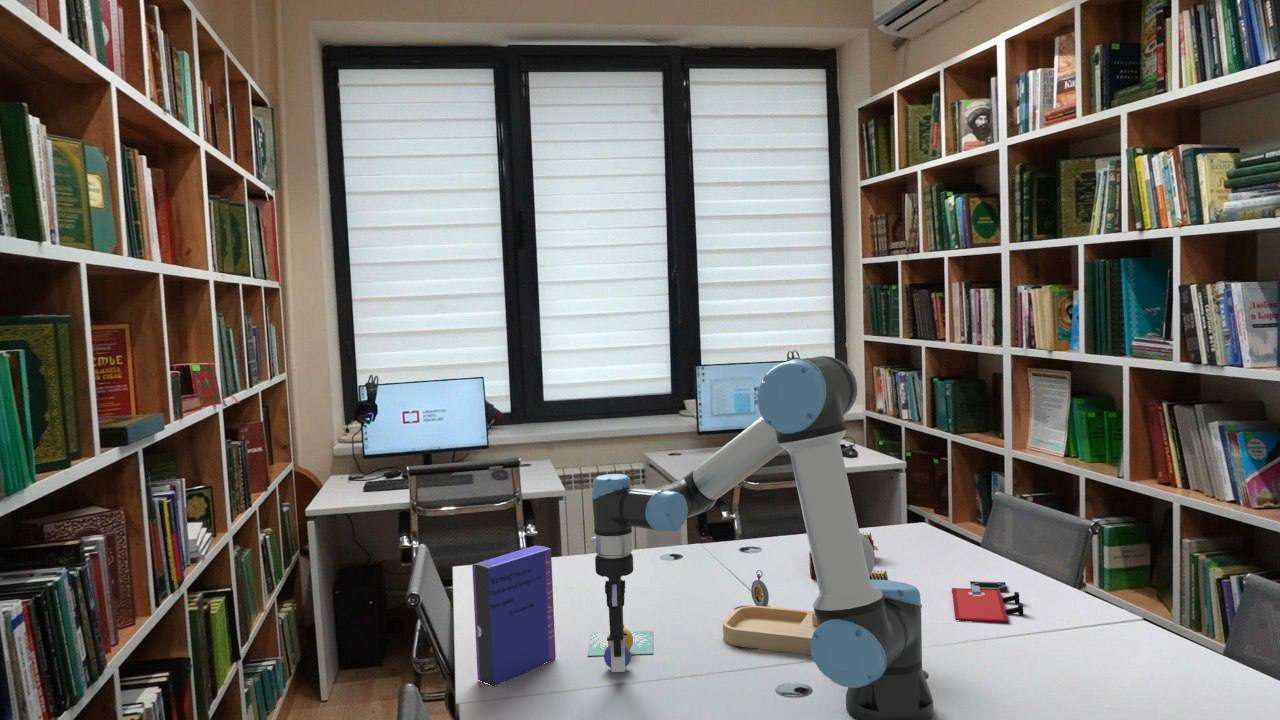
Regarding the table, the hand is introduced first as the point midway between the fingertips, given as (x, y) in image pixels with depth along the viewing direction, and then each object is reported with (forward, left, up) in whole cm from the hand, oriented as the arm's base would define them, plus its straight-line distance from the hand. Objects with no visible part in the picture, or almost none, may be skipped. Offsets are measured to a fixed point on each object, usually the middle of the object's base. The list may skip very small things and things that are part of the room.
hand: (618, 670), depth 183 cm
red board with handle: (+39, -88, -3) cm, 96 cm away
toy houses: (+65, -60, -3) cm, 89 cm away
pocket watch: (+37, -31, -2) cm, 49 cm away
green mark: (+20, 0, -2) cm, 20 cm away
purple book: (+7, +21, -2) cm, 22 cm away
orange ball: (+14, 0, +1) cm, 14 cm away
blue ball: (+6, 0, +1) cm, 6 cm away
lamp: (+19, -39, -2) cm, 44 cm away
